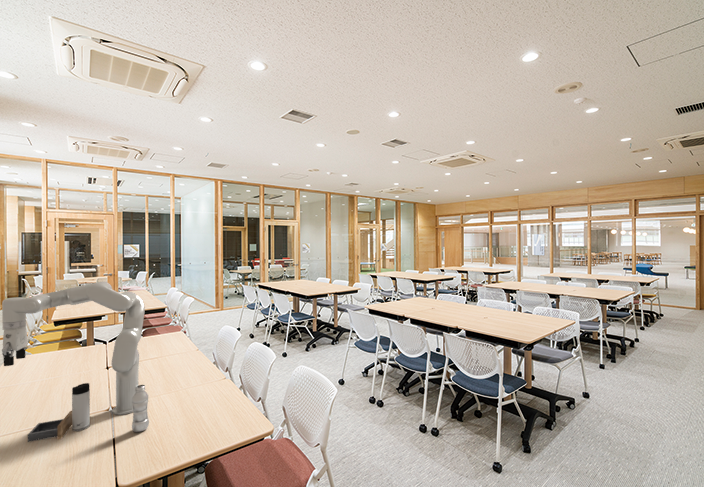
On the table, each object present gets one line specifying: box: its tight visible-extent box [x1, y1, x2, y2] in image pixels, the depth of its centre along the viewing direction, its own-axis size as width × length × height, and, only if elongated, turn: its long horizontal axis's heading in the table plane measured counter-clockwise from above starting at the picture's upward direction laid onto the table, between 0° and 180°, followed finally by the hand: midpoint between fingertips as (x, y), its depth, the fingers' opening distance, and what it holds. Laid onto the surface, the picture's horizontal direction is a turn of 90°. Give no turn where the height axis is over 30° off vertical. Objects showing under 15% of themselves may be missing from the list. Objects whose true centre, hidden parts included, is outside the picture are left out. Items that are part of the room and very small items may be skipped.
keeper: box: [27, 418, 64, 443], centre depth 147 cm, size 11×10×3 cm
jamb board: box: [57, 410, 72, 441], centre depth 149 cm, size 1×14×6 cm, turn 23°
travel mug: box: [71, 382, 91, 432], centre depth 151 cm, size 6×7×20 cm
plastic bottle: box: [131, 384, 150, 433], centre depth 149 cm, size 6×7×20 cm
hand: (14, 361), depth 151 cm, fingers open, 9 cm apart
